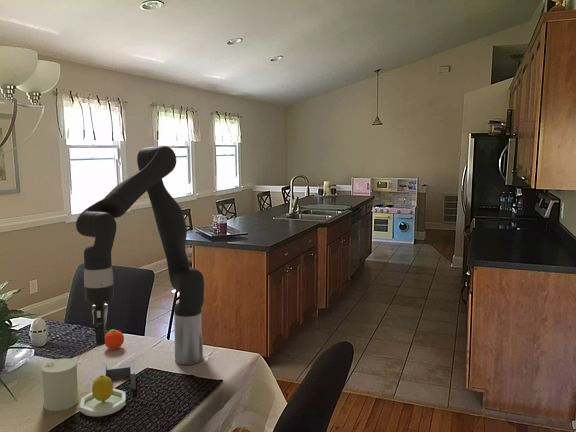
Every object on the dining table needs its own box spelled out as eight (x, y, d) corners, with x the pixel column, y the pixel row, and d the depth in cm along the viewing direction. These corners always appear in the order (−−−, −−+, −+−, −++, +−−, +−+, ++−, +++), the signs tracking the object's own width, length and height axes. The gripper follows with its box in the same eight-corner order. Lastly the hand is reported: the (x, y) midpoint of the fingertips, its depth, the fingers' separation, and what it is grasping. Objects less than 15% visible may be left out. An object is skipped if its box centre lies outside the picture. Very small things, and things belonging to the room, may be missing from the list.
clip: (135, 373, 154) (134, 359, 153) (135, 388, 144) (135, 373, 144) (102, 377, 151) (101, 363, 150) (100, 393, 141) (100, 378, 140)
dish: (125, 391, 142) (125, 386, 142) (125, 412, 131) (125, 406, 131) (82, 397, 138) (82, 392, 138) (78, 419, 127) (78, 413, 127)
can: (51, 395, 140) (49, 356, 138) (83, 394, 140) (81, 356, 139) (37, 412, 131) (35, 371, 129) (72, 411, 131) (70, 370, 130)
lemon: (107, 407, 132) (105, 380, 131) (89, 406, 132) (87, 379, 132) (117, 397, 137) (115, 371, 136) (100, 396, 138) (98, 370, 137)
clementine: (100, 347, 174) (99, 328, 173) (118, 342, 179) (118, 324, 178) (108, 354, 168) (108, 335, 168) (127, 349, 173) (126, 330, 172)
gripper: (112, 289, 124) (115, 347, 127) (113, 275, 138) (115, 328, 140) (82, 291, 122) (85, 350, 124) (86, 277, 135) (88, 331, 138)
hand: (101, 338), depth 132 cm, fingers open, 8 cm apart
